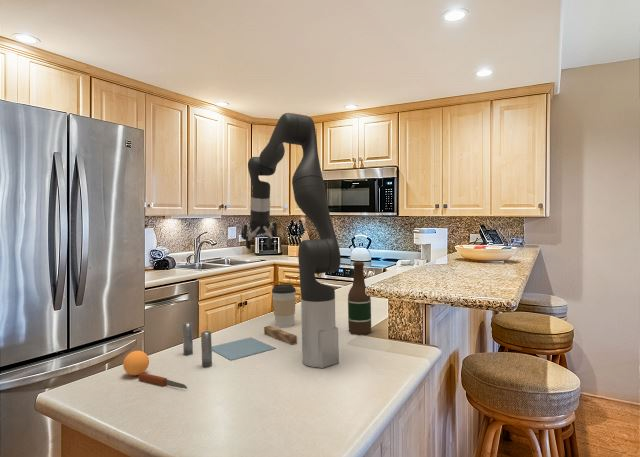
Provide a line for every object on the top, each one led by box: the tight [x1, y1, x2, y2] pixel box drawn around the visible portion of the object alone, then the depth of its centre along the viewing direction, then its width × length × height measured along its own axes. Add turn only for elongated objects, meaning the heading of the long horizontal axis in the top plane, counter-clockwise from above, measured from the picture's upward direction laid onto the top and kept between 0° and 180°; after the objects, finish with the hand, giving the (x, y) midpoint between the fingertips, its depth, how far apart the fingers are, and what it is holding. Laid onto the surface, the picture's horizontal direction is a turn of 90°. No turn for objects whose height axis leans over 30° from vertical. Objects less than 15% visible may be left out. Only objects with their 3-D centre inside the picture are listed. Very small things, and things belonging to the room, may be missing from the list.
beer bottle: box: [347, 261, 372, 336], centre depth 134 cm, size 8×8×24 cm
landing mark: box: [212, 336, 277, 361], centre depth 120 cm, size 15×15×1 cm
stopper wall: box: [263, 325, 298, 346], centre depth 129 cm, size 16×2×2 cm, turn 40°
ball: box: [122, 350, 150, 376], centre depth 100 cm, size 6×6×6 cm
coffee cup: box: [271, 283, 297, 328], centre depth 146 cm, size 9×9×15 cm
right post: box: [200, 330, 213, 368], centre depth 106 cm, size 3×3×9 cm
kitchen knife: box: [138, 372, 188, 389], centre depth 94 cm, size 16×1×2 cm, turn 63°
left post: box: [182, 321, 194, 356], centre depth 116 cm, size 3×3×9 cm
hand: (258, 247), depth 158 cm, fingers open, 8 cm apart
